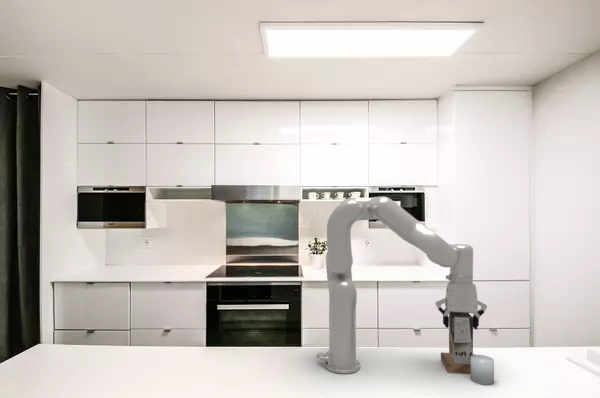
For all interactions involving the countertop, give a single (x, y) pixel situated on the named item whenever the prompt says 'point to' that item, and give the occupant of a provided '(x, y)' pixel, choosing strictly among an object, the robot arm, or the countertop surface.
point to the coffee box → (460, 337)
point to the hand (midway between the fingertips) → (460, 327)
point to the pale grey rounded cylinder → (482, 369)
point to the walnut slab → (454, 365)
